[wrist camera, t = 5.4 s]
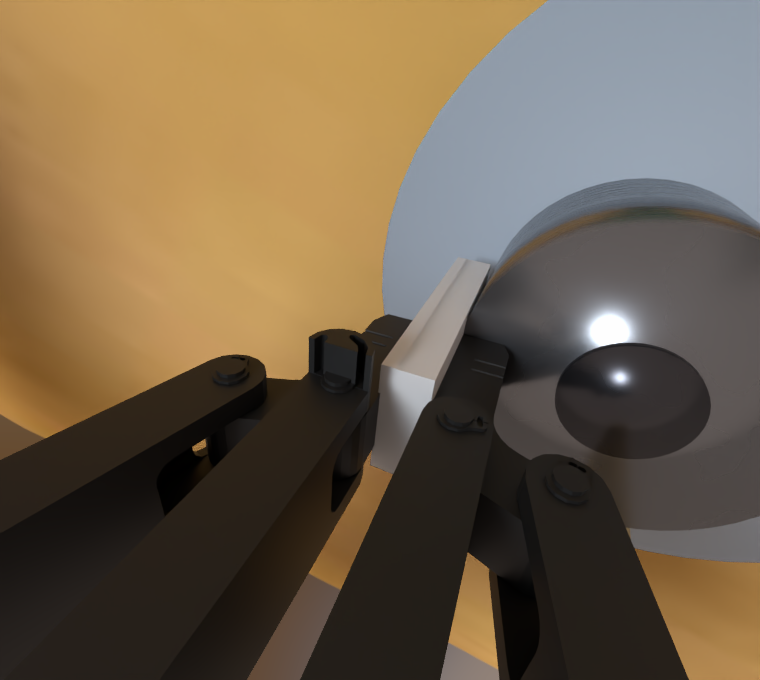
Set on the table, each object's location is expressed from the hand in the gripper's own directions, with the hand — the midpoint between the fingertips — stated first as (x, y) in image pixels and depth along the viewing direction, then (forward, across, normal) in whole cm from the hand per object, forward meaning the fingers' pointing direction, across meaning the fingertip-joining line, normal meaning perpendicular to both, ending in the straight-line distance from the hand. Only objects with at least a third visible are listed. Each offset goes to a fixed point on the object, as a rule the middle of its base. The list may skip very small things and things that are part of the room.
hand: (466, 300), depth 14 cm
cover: (+2, +4, 0) cm, 5 cm away
